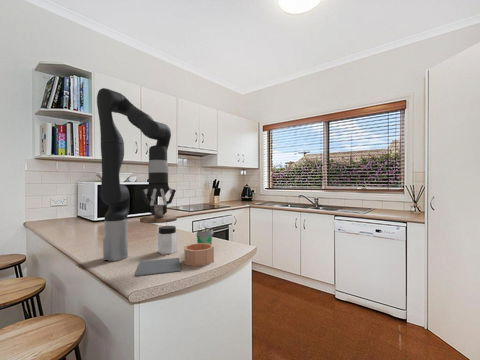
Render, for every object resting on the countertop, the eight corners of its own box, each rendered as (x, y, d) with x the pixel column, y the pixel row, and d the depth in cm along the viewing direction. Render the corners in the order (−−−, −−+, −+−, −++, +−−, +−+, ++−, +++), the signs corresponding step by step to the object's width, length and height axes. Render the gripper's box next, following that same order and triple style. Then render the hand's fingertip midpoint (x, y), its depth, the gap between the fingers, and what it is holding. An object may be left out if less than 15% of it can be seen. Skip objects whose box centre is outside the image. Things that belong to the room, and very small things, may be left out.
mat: (135, 276, 86) (135, 275, 86) (140, 262, 102) (140, 261, 102) (180, 271, 91) (180, 270, 91) (179, 258, 106) (179, 257, 106)
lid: (137, 224, 88) (137, 207, 88) (142, 218, 101) (141, 204, 101) (177, 222, 92) (177, 205, 92) (176, 217, 105) (176, 203, 105)
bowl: (185, 267, 95) (185, 251, 95) (183, 258, 107) (183, 244, 107) (215, 263, 99) (215, 249, 99) (210, 255, 110) (210, 242, 110)
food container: (209, 253, 113) (208, 232, 113) (196, 253, 114) (196, 232, 114) (216, 246, 125) (216, 227, 125) (205, 246, 126) (205, 227, 126)
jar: (156, 254, 112) (156, 229, 112) (158, 250, 120) (158, 226, 120) (176, 253, 114) (176, 228, 114) (177, 248, 122) (176, 225, 122)
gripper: (138, 171, 91) (138, 216, 91) (176, 171, 95) (177, 215, 95) (140, 172, 98) (140, 214, 98) (176, 172, 102) (176, 212, 102)
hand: (158, 214), depth 97 cm, fingers closed on lid, 3 cm apart
